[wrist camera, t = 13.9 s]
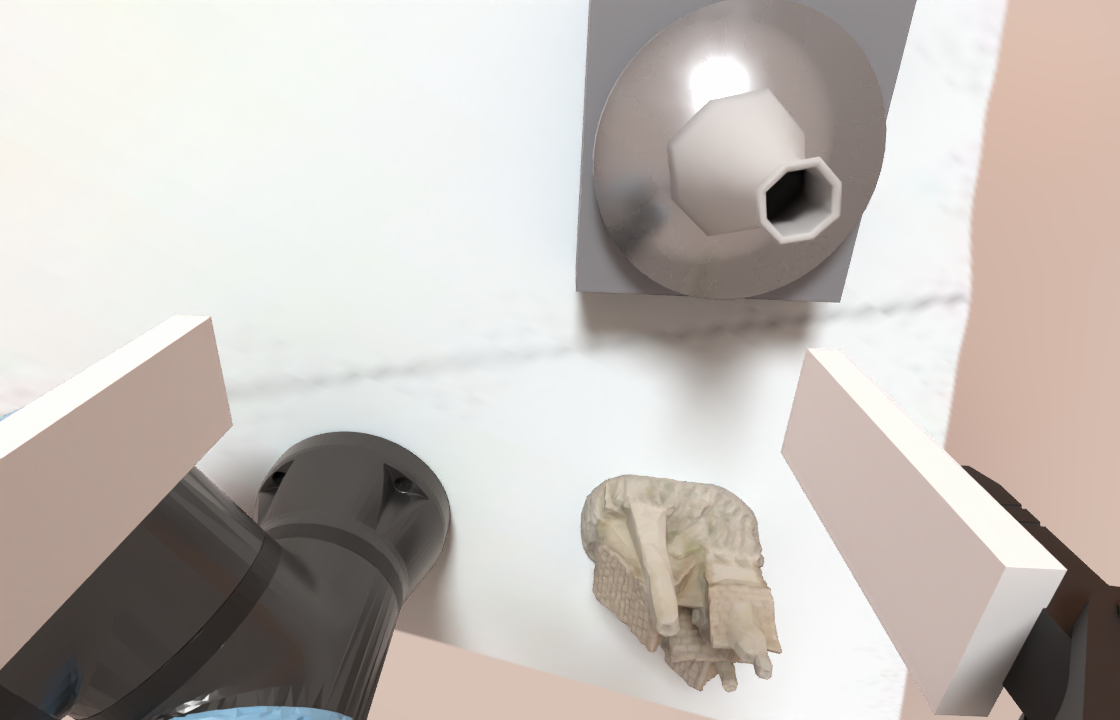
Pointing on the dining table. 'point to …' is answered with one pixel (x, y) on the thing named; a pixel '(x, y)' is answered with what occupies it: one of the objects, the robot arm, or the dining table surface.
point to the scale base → (613, 40)
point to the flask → (751, 171)
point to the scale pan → (722, 70)
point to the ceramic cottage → (683, 574)
